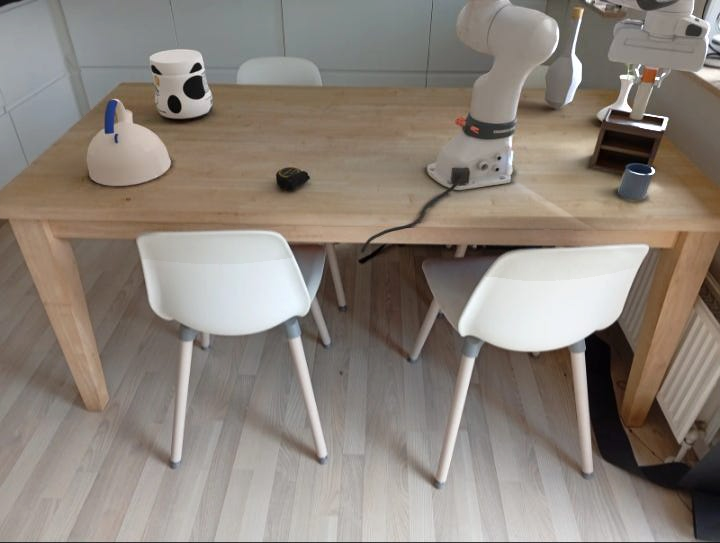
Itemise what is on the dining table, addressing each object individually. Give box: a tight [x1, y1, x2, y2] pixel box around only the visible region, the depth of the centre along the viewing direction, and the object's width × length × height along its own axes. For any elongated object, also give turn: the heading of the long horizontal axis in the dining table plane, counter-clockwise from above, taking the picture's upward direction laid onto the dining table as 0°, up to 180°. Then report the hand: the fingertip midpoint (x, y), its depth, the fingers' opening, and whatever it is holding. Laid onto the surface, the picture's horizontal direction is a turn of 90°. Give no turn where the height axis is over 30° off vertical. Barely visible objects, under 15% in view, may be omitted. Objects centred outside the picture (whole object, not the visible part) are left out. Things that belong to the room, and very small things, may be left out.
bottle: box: [544, 6, 585, 110], centre depth 166 cm, size 11×11×30 cm
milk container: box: [148, 48, 214, 121], centre depth 166 cm, size 17×17×18 cm
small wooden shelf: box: [589, 108, 669, 174], centre depth 137 cm, size 9×14×13 cm, turn 61°
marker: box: [630, 66, 659, 120], centre depth 130 cm, size 3×3×12 cm
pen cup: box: [617, 163, 656, 201], centre depth 127 cm, size 6×6×7 cm
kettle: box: [86, 98, 172, 187], centre depth 135 cm, size 20×21×18 cm
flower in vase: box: [596, 63, 635, 122], centre depth 159 cm, size 13×11×25 cm
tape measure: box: [275, 166, 310, 191], centre depth 132 cm, size 7×7×4 cm
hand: (646, 85), depth 128 cm, fingers closed on marker, 3 cm apart
